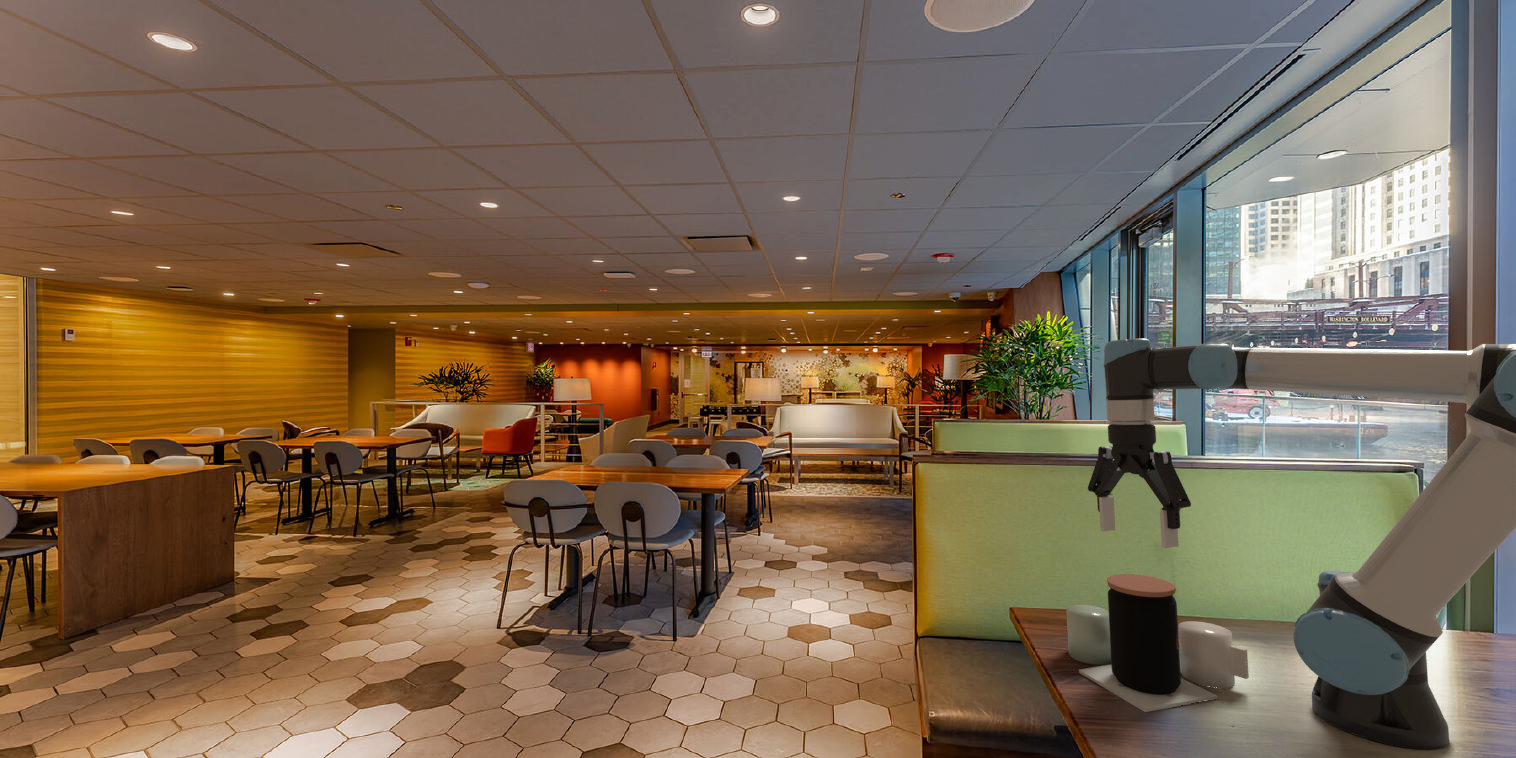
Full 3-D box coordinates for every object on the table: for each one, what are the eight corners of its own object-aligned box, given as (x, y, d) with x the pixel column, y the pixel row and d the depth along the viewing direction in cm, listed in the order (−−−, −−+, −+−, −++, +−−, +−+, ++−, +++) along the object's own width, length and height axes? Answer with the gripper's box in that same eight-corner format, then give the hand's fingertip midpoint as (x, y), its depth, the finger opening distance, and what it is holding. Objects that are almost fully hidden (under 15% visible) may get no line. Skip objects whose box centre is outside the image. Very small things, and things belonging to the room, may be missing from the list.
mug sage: (1072, 662, 120) (1070, 617, 120) (1065, 646, 127) (1063, 603, 127) (1131, 667, 117) (1128, 621, 117) (1119, 650, 124) (1117, 606, 124)
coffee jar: (1196, 696, 104) (1190, 591, 104) (1133, 697, 104) (1127, 592, 105) (1156, 668, 114) (1151, 573, 115) (1100, 669, 115) (1095, 574, 115)
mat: (1217, 699, 104) (1217, 695, 104) (1145, 712, 101) (1144, 708, 101) (1144, 662, 118) (1143, 658, 118) (1079, 672, 115) (1078, 669, 115)
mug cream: (1173, 676, 113) (1170, 627, 113) (1192, 664, 117) (1189, 618, 117) (1239, 698, 104) (1236, 645, 104) (1257, 684, 108) (1254, 634, 109)
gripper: (1211, 424, 100) (1219, 552, 99) (1096, 419, 124) (1101, 523, 123) (1174, 426, 98) (1182, 557, 97) (1064, 421, 122) (1070, 526, 122)
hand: (1137, 538), depth 110 cm, fingers open, 13 cm apart
